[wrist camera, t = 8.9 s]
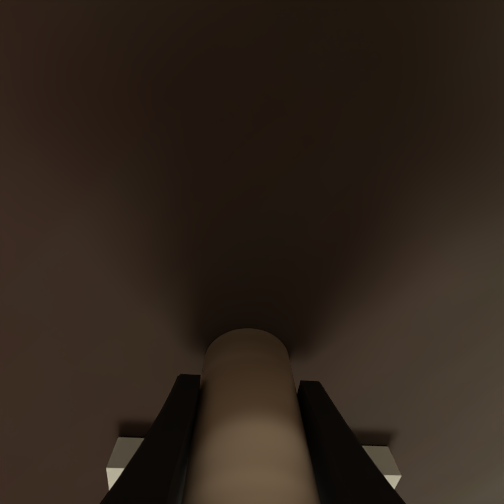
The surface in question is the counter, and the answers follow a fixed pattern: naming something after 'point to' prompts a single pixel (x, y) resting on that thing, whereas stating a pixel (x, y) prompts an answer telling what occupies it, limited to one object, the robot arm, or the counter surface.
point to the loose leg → (248, 427)
